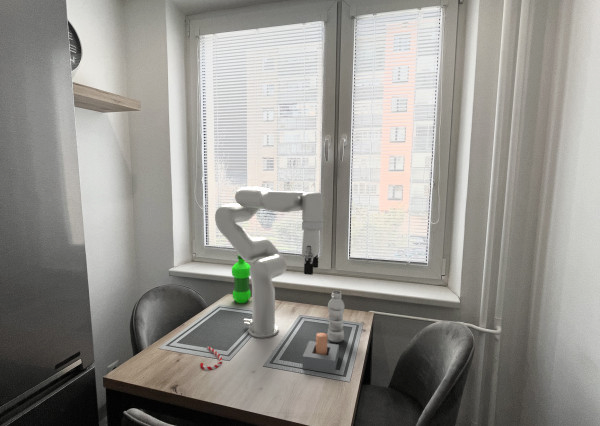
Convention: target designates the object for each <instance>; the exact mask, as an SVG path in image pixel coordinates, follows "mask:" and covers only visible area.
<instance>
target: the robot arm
mask: <svg viewBox="0 0 600 426" xmlns="http://www.w3.org/2000/svg"><path fill="white" fill-rule="evenodd" d="M234 200H235V203H229V204H224V205H220V206H219V207H218V208H216V211H215V214H214V221H215V225H216V227H217V229H218V230H219V232H220V233H221V234H222V235H223V236H224V237H225V239H227V241H228V242H229V244H231V246H232V247H233V249H234V250H235V251H236V252H237V255H240V256H241V258H242V259H243V260H245V262H251V264H250V276H249V277H250V280H251V281H250V282H251V300H252V301H251V308H252V310H251V313H252V314H251V315H252V316H251V317H252V318H250V319H249V318H244V319H243V324H244V325H243V326H248V334H249V335H250V336H252V337H254V338H259V339H260V338H262V339H264V338H270V337H273V336H275V335H277V333H278V332H279V326H278V325H277V324H276V322H275V320H276V318H275V316H276V315H275V314H276V313H275V312H276V310H275V309H276V305H275V304H276V292H275V291H276V290H275V285H274V284H273V279H274V278H276V277H280V276H282V275H283V274H285V273H286V270H287V268H288V266H287V261H286V259H285V257H284V256H283V254H282V253H281V252H280V251H279V249H277V248H276V246H275V245H274V243H273V242H272V241H271V240H270V239H268V238H266V237H264V236H259V237H252V236H251V235H250V234H249V233H248V232H247V230H246V229H245V228H243V227H242V226H241V225H239V224H237V223H243V222H248V221H250V220H251V219H253V217H254V216H255V215H256V214H257V213H258V212H259V211H260V210H266V211H271V212H277V213H279V212H280V213H290V212H299V211H302V212H301V213H302V214H301V230H302V231H303V234H302V243H301V244H302V245H301V256H302V258H304V260H303V261H304V262H303V274H304V275H310V276H313V275H314V269H315V268H316V269H317V268H319V252H320V241H321V239H320V234H321V233H320V231H323V209H324V208H323V207H324V204H323V203H324V202H323V201H324V197H323V194H322V193H321V192H315V191H314V192H313V191H312V192H308V191H307V192H305V191H302V190H300V191H299V190H296V191H295V190H294V191H293V190H291V191H289V190H288V191H276V190H275V191H274V190H271V189H270V188H268V187H267V188H266V187H259V186H253V187H252V186H245V187H244V186H243V187H241V188H239V189H238V190H237V191H236V192H235V195H234Z"/></svg>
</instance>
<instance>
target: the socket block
mask: <svg viewBox="0 0 600 426" xmlns="http://www.w3.org/2000/svg"><path fill="white" fill-rule="evenodd" d="M339 351H340V345H339V344H336V343H329V342H327V355H321V354H316V340H315V341H314V340H309V341H308V343H307V345H306V347H305V351H304V352H303V355H302V361H301V363H302V365H301V366H302V369H303V370H311V371H315V372H316V371H317V372H322V373H329V374H335V372H336V369H337V364H338V360H339Z"/></svg>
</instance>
